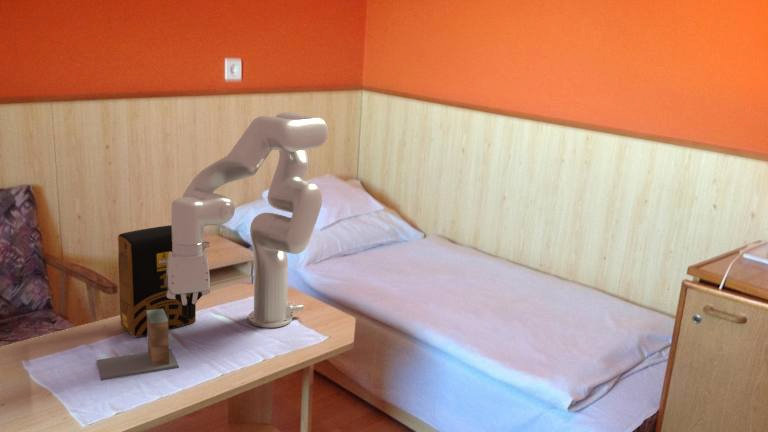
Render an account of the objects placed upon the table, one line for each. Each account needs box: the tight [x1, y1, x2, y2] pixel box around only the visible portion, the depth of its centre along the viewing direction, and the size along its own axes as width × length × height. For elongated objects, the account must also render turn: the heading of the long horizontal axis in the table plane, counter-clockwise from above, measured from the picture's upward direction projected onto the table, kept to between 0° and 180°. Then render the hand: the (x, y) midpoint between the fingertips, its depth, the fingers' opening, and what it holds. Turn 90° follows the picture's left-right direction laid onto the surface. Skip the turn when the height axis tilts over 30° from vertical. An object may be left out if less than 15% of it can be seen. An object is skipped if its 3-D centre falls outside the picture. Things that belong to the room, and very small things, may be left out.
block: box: [147, 309, 170, 366], centre depth 181 cm, size 4×7×12 cm, turn 26°
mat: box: [96, 347, 180, 381], centre depth 180 cm, size 18×10×1 cm, turn 116°
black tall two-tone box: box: [117, 224, 197, 338], centre depth 199 cm, size 11×19×28 cm, turn 130°
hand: (188, 317), depth 183 cm, fingers closed
